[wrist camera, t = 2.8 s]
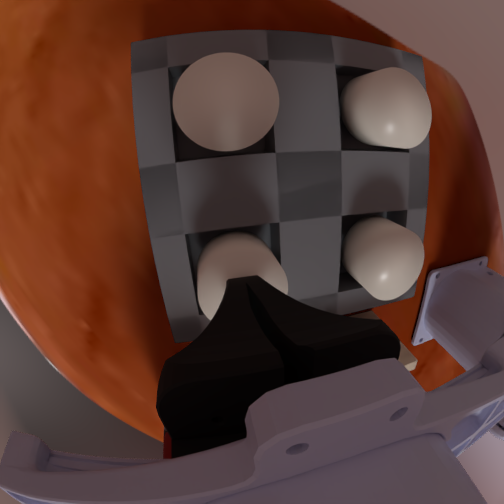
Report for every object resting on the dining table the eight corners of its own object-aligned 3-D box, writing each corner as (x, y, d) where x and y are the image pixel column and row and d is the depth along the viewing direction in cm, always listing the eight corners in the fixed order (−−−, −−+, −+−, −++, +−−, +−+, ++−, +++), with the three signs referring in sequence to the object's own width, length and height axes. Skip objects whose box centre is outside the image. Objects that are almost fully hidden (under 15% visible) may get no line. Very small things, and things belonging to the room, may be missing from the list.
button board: (394, 63, 15) (421, 56, 12) (391, 278, 21) (413, 296, 18) (142, 59, 12) (131, 42, 10) (177, 314, 18) (175, 342, 16)
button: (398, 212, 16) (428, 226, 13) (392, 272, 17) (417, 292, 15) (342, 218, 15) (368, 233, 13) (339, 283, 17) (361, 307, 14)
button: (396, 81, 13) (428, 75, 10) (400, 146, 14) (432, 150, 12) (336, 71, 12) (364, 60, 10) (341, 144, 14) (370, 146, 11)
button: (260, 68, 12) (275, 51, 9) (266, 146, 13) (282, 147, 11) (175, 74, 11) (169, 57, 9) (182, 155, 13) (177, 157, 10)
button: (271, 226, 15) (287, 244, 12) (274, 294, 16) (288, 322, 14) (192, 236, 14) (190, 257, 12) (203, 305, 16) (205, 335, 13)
